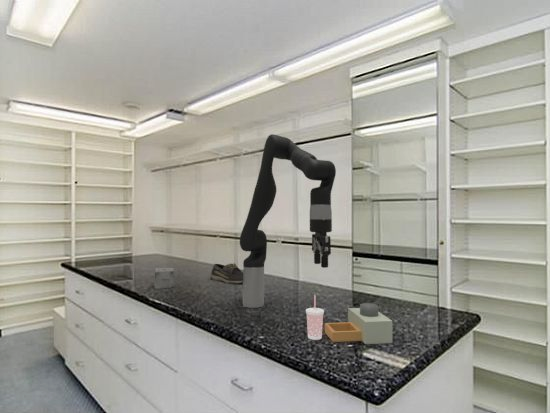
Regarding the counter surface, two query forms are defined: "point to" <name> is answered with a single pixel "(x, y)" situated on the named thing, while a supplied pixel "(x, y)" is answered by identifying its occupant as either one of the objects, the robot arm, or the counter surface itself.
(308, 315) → the beverage cup
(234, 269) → the boat shoe
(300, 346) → the counter surface
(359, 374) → the counter surface
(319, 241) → the robot arm
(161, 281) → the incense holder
